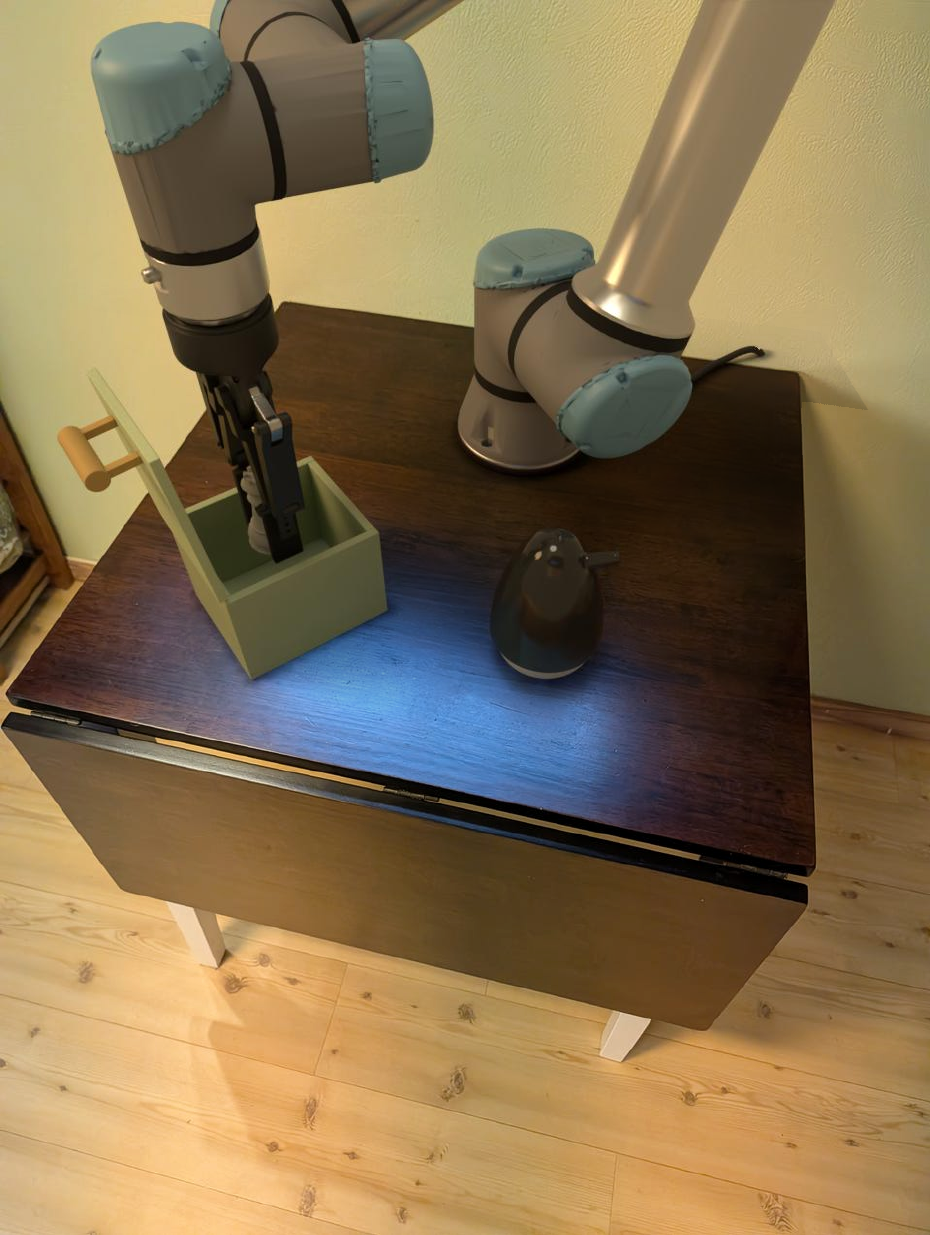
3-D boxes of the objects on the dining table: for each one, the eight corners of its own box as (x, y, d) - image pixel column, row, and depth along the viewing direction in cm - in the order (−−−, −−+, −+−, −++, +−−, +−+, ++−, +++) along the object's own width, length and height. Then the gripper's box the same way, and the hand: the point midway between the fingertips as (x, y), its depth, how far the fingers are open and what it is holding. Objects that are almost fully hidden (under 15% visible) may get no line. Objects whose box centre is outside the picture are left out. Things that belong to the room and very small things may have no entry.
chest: (325, 535, 89) (311, 455, 81) (387, 610, 82) (379, 532, 74) (196, 594, 84) (166, 516, 75) (251, 680, 77) (225, 605, 69)
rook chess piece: (258, 520, 78) (240, 452, 71) (305, 525, 77) (291, 457, 71) (243, 555, 75) (223, 488, 69) (292, 560, 75) (277, 493, 68)
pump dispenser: (593, 705, 75) (617, 595, 64) (479, 686, 77) (482, 574, 65) (604, 618, 82) (628, 503, 70) (499, 602, 83) (504, 486, 71)
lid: (94, 366, 63) (29, 394, 61) (159, 457, 56) (88, 491, 55) (168, 510, 75) (116, 536, 74) (228, 599, 69) (172, 629, 67)
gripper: (117, 261, 61) (196, 499, 79) (218, 379, 52) (281, 618, 70) (213, 232, 64) (269, 469, 82) (325, 340, 55) (359, 579, 73)
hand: (274, 537), depth 76 cm, fingers closed on rook chess piece, 4 cm apart
